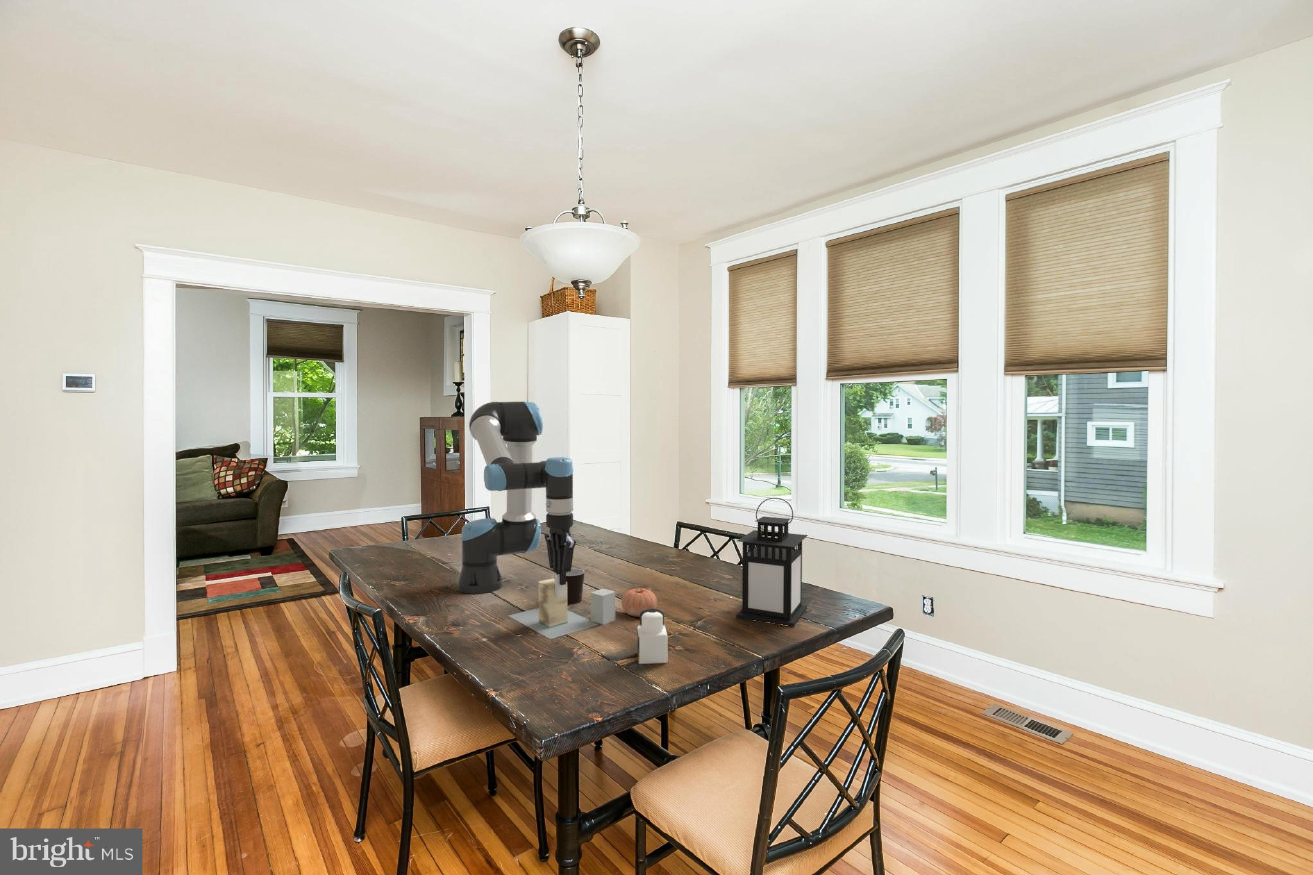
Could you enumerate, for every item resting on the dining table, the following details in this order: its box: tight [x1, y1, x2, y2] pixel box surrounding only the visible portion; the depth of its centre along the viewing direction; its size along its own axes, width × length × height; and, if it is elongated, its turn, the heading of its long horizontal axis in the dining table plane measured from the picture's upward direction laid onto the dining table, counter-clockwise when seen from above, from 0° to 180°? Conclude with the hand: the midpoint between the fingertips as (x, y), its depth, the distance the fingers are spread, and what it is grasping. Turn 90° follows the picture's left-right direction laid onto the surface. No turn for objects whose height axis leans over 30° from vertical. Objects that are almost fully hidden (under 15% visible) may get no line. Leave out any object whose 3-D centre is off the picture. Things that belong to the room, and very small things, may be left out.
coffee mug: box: [566, 567, 586, 605], centre depth 197 cm, size 12×9×10 cm
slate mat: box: [508, 607, 600, 640], centre depth 178 cm, size 24×16×1 cm, turn 41°
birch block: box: [537, 577, 569, 628], centre depth 176 cm, size 6×6×12 cm
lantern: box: [735, 497, 809, 627], centre depth 184 cm, size 17×17×35 cm
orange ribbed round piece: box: [620, 587, 658, 618], centre depth 184 cm, size 11×11×8 cm
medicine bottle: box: [636, 608, 669, 665], centre depth 153 cm, size 7×7×12 cm
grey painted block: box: [590, 588, 616, 625], centre depth 178 cm, size 5×5×9 cm
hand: (560, 595), depth 173 cm, fingers closed
